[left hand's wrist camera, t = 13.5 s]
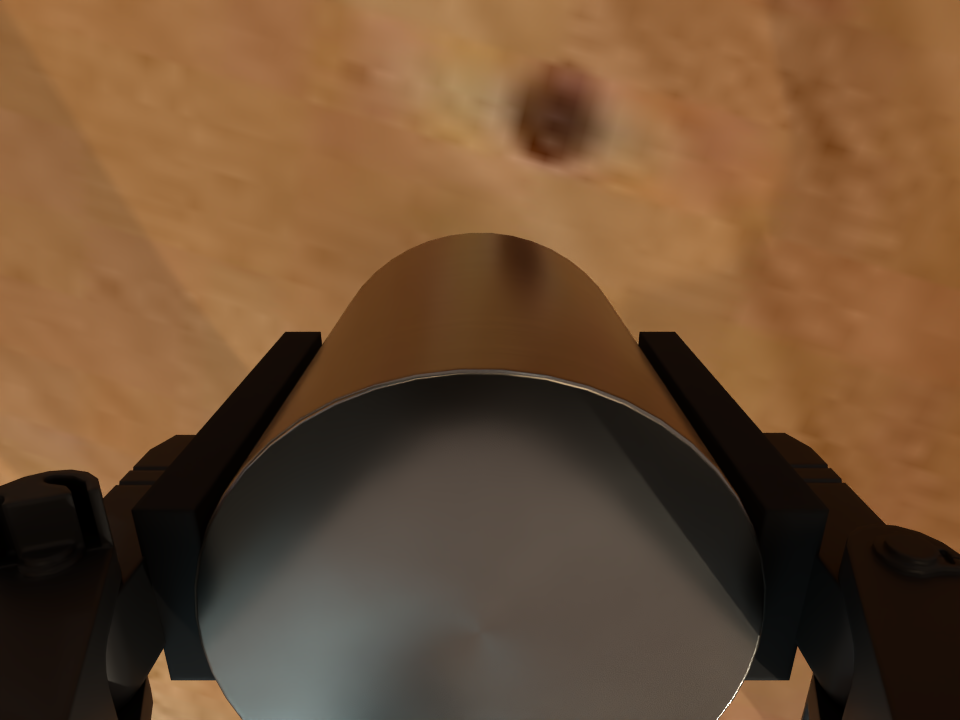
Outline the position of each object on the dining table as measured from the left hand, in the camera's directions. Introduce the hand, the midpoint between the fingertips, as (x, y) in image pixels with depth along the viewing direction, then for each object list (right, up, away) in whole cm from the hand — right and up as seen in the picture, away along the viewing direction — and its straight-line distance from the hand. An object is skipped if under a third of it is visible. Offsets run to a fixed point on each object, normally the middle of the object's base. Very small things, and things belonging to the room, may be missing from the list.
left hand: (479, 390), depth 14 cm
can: (0, 0, +1) cm, 1 cm away
